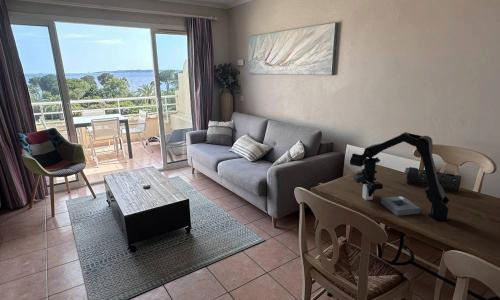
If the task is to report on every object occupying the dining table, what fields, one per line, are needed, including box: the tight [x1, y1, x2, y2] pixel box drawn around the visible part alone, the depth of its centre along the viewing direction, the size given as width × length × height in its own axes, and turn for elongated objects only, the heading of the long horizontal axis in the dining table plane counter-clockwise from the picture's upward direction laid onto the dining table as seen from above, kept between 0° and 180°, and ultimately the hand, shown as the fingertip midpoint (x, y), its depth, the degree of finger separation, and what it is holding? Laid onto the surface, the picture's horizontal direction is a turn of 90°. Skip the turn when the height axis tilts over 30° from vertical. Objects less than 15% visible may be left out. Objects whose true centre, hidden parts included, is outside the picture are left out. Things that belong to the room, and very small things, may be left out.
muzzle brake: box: [403, 166, 462, 193], centre depth 168 cm, size 10×28×10 cm, turn 50°
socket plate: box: [380, 195, 421, 217], centre depth 145 cm, size 14×12×3 cm
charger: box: [361, 184, 374, 201], centre depth 156 cm, size 4×4×8 cm
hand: (367, 194), depth 157 cm, fingers closed on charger, 4 cm apart
